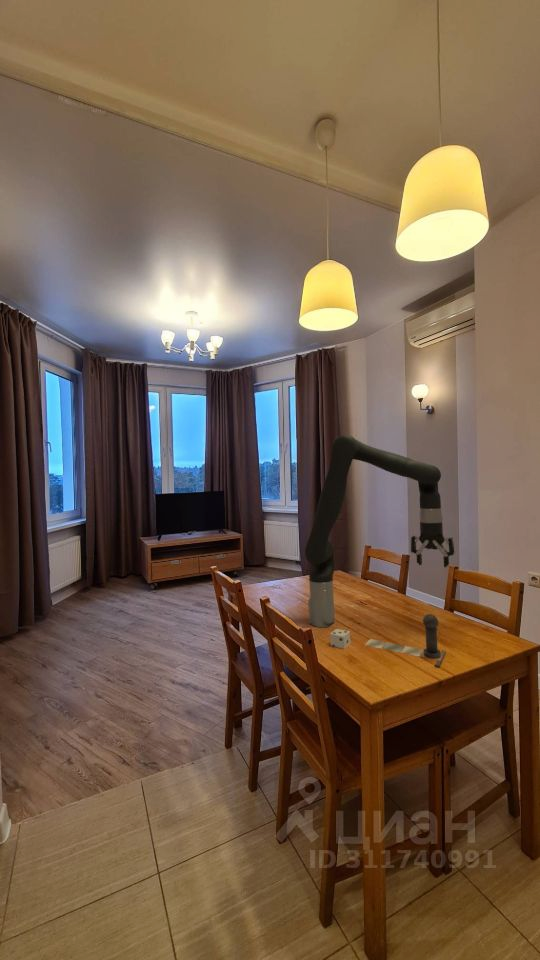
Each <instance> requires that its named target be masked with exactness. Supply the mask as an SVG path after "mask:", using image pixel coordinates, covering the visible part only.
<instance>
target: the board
mask: <svg viewBox="0 0 540 960" xmlns="http://www.w3.org/2000/svg"><path fill="white" fill-rule="evenodd" d="M364 646H366V647H367V646H368V647H372V648H376V649H380V650H381V649H382V650H385V651H391V652H394V653H395V652H396V653H401V654H404V655H410V656H415V657H421V658H424V659H429V660H432V661H436V662H435V664H434V667H435V668H438V669H439V668H441V665H442V664H443V660H444V659H445V656H446V655H447V651H446V650H444V649H443V650H441V651H440V653H441V657H440V658H436V659H433V658H428V657H426V656H425V655H424V649H425V648H423V649H422V648H419V647H413V646H409V645H402V644H399V643H398V644H397V643H393V642H389V641H388V642H386V641H382V640H378V639H372V638H370V639H369V640H368V641H366V643H365V644H364Z"/></svg>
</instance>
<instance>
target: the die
mask: <svg viewBox="0 0 540 960" xmlns="http://www.w3.org/2000/svg"><path fill="white" fill-rule="evenodd" d="M329 636H330V638H329V640H330V647H332V648H339V649H343V650H345V649H346V648H348V646H349V645H350V644H351V631H350V630H345V629H339V628H336V629H334V630H333V631H331V632H330V633H329Z"/></svg>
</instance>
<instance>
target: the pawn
mask: <svg viewBox="0 0 540 960" xmlns="http://www.w3.org/2000/svg"><path fill="white" fill-rule="evenodd" d="M422 623H423V625H424V626H425V627H424V628H425V646H426V647H425V648H423V649H424V650H423V652H424V655H425V656H426V657H428V658H433V659H436V658H440V657H441V650H439V648H438V632H437V630H438V629H437V627H438V626H439V620H438V618H437V616H436V615H434V614H432V613H428V614H426V615H423V618H422ZM428 658H427V659H428ZM433 659H432V660H433Z"/></svg>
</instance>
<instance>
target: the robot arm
mask: <svg viewBox="0 0 540 960" xmlns="http://www.w3.org/2000/svg"><path fill="white" fill-rule="evenodd" d="M353 460H355V461H361V462H364V463H367V464H369V465H372V466H374V467H377V468H378V469H381V470H384V471H385V472H388V473H391V474H393V475H394V474H395V475H396V476H400V477H403V478H404V477H405V478H408V479H411V480H413V481H417V482H418V490H419V532H420V533H419V534H420V535H419V536H416V535H412V536H411V538H410V552H411V553H412V554H413V553H414V554H415V555H416V563H417V564H418V565H419V566H422V565H423V555H422V552H423V551H424V550H425V549H426V550H431V549H432V550H435V551H436V550H439V552H440V553H442V555H443V568H447V567H449V566H450V556H454V554H455V545H454V539H453V538H454V537H445V536H444V532H443V529H444V527H443V521H444V519H443V512H442V508H441V507H442V502H441V494H440V492H439V482H440V480H441V477H442V472H441V471H440V469H439V467H436V466H435V465H432V464H429V463H426V462H422V461H417V460H414V459H412V458H409V457H407V456H403V455H400V454H397V453H394V452H390V451H387V450H383V449H379V448H376V447H373V446H370V445H367V444H366V443H363V442H362V441H360V440H359V439H356V438H355V437H353V436H351V435H349V434H341V435H339V436H337V437H336V438H335V439H334V441H333V443H332V446H331V453H330V460H329V466H328V470H327V474H326V476H325V479H324V482H323V484H322V488H321V492H320V495H319V500H318V503H317V509H316V513H315V516H314V520H313V525H312V529H311V531H310V535H309V537H308V540H307V541H306V542H307V543H306V545H305V548H304V555H305V559H306V561H307V562H308V563H310V564H311V565H312V567H311V570H310V572H309V575H308V579H309V580H308V581H309V598H308V600H307V604H308V605H307V606H308V624H310V625H312V626H314V627H317V628H330V627H332V626H333V625H334V624H335V622H336V620H335V618H336V617H335V602H334V601H335V596H334V576H333V575H334V573H335V551H334V546H333V544H332V542H331V541H330V540H329V538H330V534H331V531H332V529H333V528H334V526H335V524H336V522H337V521H338V519H339V517H340V515H341V512H342V509H343V505H344V503H345V502H344V501H345V499H346V493H347V483H348V475H349V471H350V468H351V466H352V462H353ZM418 542H420V543H421V545H420V547H419V548H418V549H417V543H418ZM444 542H445V543H446V544H447V545H448V550H449V551H448V550H447V548H445V546H444V545H443V544H444Z"/></svg>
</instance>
